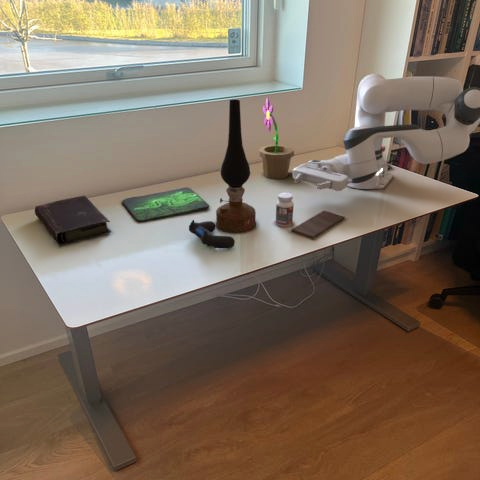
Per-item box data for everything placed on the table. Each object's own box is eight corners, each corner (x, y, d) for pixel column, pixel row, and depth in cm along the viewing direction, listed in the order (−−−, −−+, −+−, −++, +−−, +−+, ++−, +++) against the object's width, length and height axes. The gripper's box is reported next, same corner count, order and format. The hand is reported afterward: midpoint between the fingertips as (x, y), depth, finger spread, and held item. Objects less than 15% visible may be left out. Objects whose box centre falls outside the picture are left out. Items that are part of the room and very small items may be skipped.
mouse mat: (137, 222, 171) (137, 220, 171) (120, 200, 187) (120, 198, 187) (211, 208, 181) (211, 206, 180) (189, 188, 197) (188, 186, 197)
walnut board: (323, 213, 178) (323, 210, 177) (344, 219, 174) (344, 216, 173) (291, 232, 165) (291, 229, 165) (313, 239, 161) (313, 236, 160)
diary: (57, 247, 157) (53, 232, 154) (36, 219, 174) (33, 205, 171) (114, 233, 165) (112, 219, 162) (89, 208, 182) (86, 194, 179)
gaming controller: (206, 237, 168) (182, 228, 162) (214, 221, 166) (189, 211, 160) (230, 257, 156) (205, 248, 150) (239, 240, 154) (213, 231, 148)
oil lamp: (259, 229, 175) (283, 106, 157) (246, 240, 162) (270, 107, 144) (222, 219, 178) (242, 97, 160) (206, 229, 165) (225, 97, 147)
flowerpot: (253, 170, 215) (254, 95, 198) (285, 167, 218) (288, 92, 201) (265, 182, 204) (267, 102, 186) (298, 178, 207) (303, 100, 190)
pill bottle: (291, 227, 168) (293, 199, 162) (274, 226, 169) (275, 197, 163) (293, 220, 173) (295, 192, 167) (276, 219, 174) (277, 191, 168)
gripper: (353, 188, 177) (332, 200, 168) (305, 175, 188) (283, 186, 179) (356, 170, 173) (334, 181, 165) (307, 158, 184) (284, 168, 176)
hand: (307, 183), depth 172 cm, fingers open, 8 cm apart
